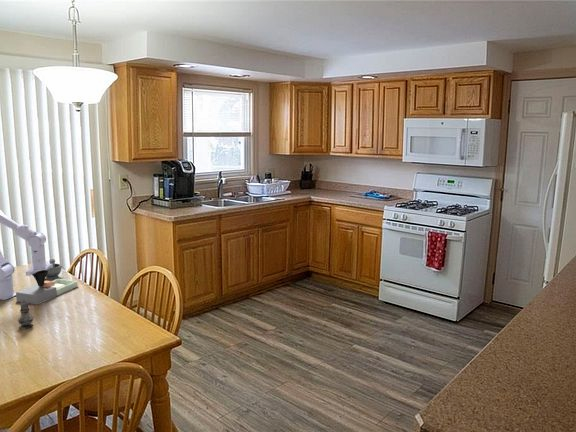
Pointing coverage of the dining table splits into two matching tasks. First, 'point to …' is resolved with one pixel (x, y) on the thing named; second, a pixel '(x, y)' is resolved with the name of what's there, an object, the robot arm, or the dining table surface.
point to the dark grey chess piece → (25, 316)
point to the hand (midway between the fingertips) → (40, 285)
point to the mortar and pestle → (53, 270)
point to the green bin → (67, 283)
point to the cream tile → (58, 286)
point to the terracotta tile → (48, 283)
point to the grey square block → (36, 294)
